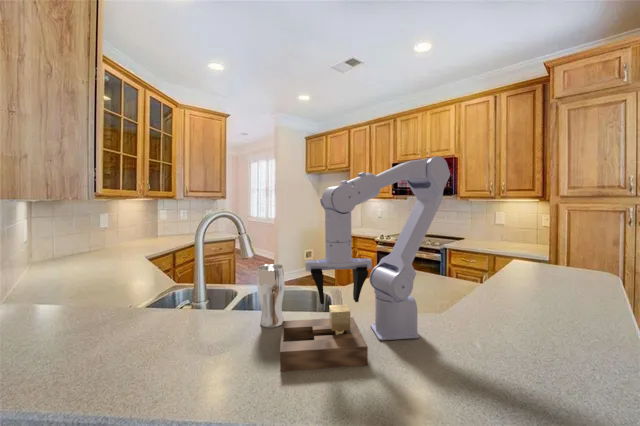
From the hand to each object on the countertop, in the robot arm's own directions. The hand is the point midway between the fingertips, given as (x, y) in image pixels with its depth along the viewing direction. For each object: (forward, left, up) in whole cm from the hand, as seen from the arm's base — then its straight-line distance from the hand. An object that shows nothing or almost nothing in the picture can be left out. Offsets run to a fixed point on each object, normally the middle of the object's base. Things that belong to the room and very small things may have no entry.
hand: (338, 301), depth 66 cm
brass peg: (0, +1, -10) cm, 10 cm away
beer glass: (+16, -13, -10) cm, 23 cm away
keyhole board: (+4, +2, -10) cm, 11 cm away
